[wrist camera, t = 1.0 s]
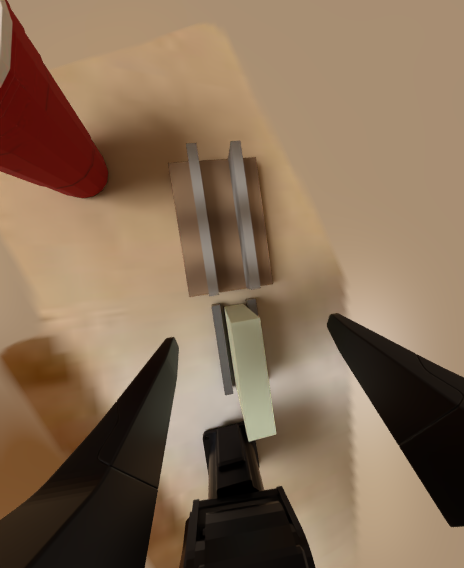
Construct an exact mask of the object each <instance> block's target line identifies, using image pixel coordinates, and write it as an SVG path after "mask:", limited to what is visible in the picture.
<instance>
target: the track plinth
mask: <svg viewBox="0 0 464 568" xmlns="http://www.w3.org/2000/svg"><path fill="white" fill-rule="evenodd" d="M186 148H187V154H188V161H189V162H174V163H168V165H169V172H170V178H171V184H172V190H173V197H174V203H175V209H176V216H177V222H178V228H179V234H180V241H181V247H182V253H183V259H184V266H185V272H186V278H187V285H188V291H189V297H194V296H200V295H206V294H209V296H214V295H219V292H225V291H232V290H238V289H245V288H248V289H251V290H252V289H258V288H261V287H260V286H264V285H270V284H273V281H272V273H271V266H270V258H269V251H268V244H267V236H266V229H265V221H264V214H263V206H262V199H261V192H260V184H259V177H258V169H257V162H256V157H252V158H243V156H242V149H241V142H240V141H231V142H230V149H229V156H228V159H221V160H205V161H199V158H198V151H197V145H196V143H186Z"/></svg>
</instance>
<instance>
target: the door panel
mask: <svg viewBox="0 0 464 568" xmlns="http://www.w3.org/2000/svg"><path fill="white" fill-rule="evenodd" d="M224 311H225V317H226V324H227V331H228V337H229V344H230V351H231V357H232V364H233V371H234V377H235V383H236V388H237V392H238V397H239V401H240V406H241V410H242V415H243V419H244V423H245V428H246V432H247V437H248V441H253V440H257V439H261V438H265V437H268V436H272V435H276V428H275V421H274V414H273V407H272V400H271V393H270V385H269V378H268V371H267V364H266V357H265V349H264V342H263V335H262V328H261V321H260V317H258V316H257V315H256V314H255V313H253V312H252V311H251V310H250V309H249V308H247V307H246V306H245V305H244V304H237V305H231V306H225V307H224Z"/></svg>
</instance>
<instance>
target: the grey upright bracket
mask: <svg viewBox="0 0 464 568" xmlns="http://www.w3.org/2000/svg"><path fill="white" fill-rule="evenodd" d="M246 305H247V308H249V309H250V310H251V311H252V312H253V313H255V314H256V315H257V316H258V312H257V305H256V299H255V298H249V299H246ZM212 313H213V319H214V326H215V332H216V339H217V345H218V352H219V358H220V365H221V371H222V378H223V384H224V391H225V395H229V394H233V388H232V382H231V375H230V369H229V362H228V355H227V349H226V342H225V335H224V329H223V322H222V315H221V309H220V304H213V305H212Z"/></svg>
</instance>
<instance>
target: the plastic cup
mask: <svg viewBox="0 0 464 568" xmlns="http://www.w3.org/2000/svg"><path fill="white" fill-rule="evenodd" d="M0 171H1V172H4V173H6V174H9V175H12V176H15V177H17V178H20V179H23V180H26V181H28V182H31V183H34V184H37V185H39V186H44V187H48V188H50V189H53V190H55V191H58V192H60V193H63V194H65V195H69V196H74V197H80V198H87V197H92V196H95V195H96V194H98V193H99V192H101V191H102V190H103V188H104V186H105V185H106V183H107V178H108V170H107V167H106V164H105V162H104V159H103V157H102V155H101V154H100V152H99V151H98V149H97V148H96V146H95V144H94V143H93V141H92V140H91V137H90V135H89V133H88V132H87V130H86V128H85V127H84V125H83V124H82V122H81V121H80V119H79V118H78V116H77V114H76V113H75V111H74V110H73V108H72V107H71V105H70V103H69V102H68V100H67V99H66V97H65V96H64V94H63V93H62V91H61V89H60V88H59V86H58V85H57V83H56V82H55V80H54V79H53V77H52V75H51V74H50V72H49V71H48V69H47V68H46V66H45V65H44V63H43V61H42V59H41V56H40V54H39V53H38V51H37V50H36V48H35V47H34V45H33V44H32V42H31V41H30V40H29V38H28V37H27V35H26V34H25V31H24V28H23V26H22V25H21V23H20V22H19V20H18V19H17V17H16V16H15V15H14V13H13V11H12V10H11V8H10V5H9V3H8V1H7V0H0Z"/></svg>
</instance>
